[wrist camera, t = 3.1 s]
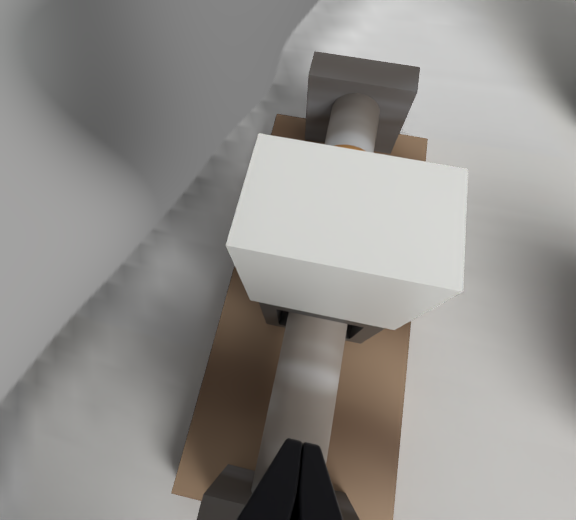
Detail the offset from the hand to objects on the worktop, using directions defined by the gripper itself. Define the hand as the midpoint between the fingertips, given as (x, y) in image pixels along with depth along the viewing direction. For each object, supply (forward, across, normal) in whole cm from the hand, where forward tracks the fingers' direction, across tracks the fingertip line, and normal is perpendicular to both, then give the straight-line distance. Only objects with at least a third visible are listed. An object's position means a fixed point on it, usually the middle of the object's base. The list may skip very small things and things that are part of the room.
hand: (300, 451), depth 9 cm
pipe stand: (+11, 0, +2) cm, 11 cm away
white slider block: (+8, 0, +1) cm, 9 cm away
